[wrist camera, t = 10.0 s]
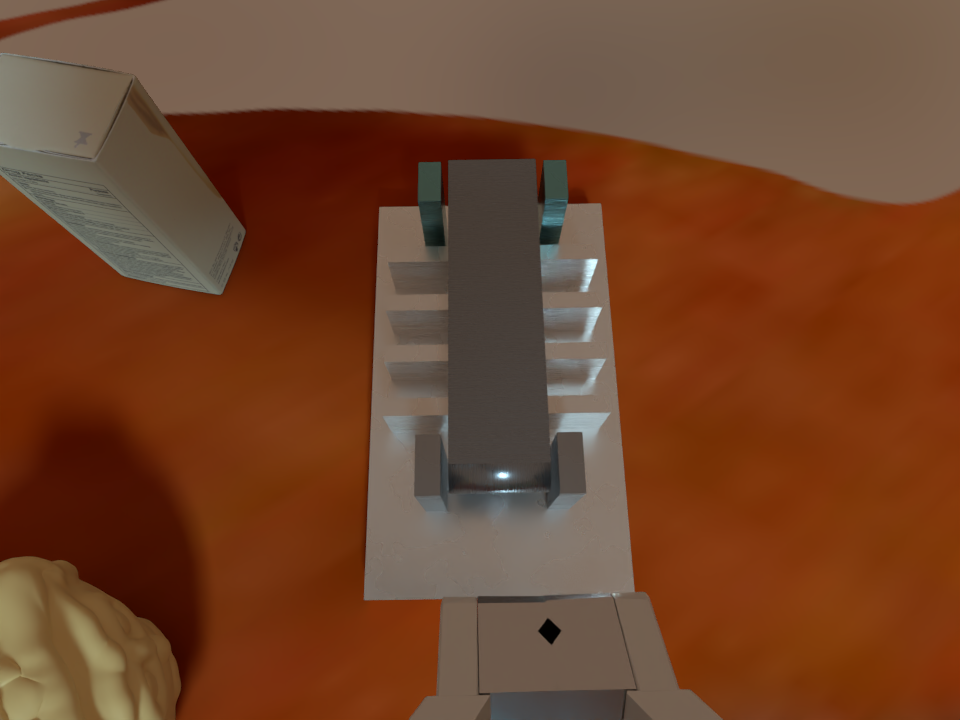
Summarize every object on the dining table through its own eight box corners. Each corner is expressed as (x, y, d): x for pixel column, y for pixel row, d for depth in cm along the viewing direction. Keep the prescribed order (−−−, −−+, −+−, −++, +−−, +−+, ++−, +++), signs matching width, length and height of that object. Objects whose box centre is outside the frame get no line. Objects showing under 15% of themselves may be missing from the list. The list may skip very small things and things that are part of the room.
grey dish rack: (625, 595, 31) (671, 597, 24) (371, 599, 31) (335, 603, 24) (595, 222, 38) (623, 131, 30) (384, 226, 38) (359, 135, 30)
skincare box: (249, 230, 38) (146, 72, 26) (223, 299, 36) (102, 164, 25) (143, 209, 38) (-5, 44, 27) (114, 276, 37) (-56, 132, 25)
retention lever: (552, 488, 25) (535, 158, 30) (447, 490, 25) (448, 160, 30) (547, 495, 27) (532, 184, 32) (450, 497, 27) (450, 185, 32)
